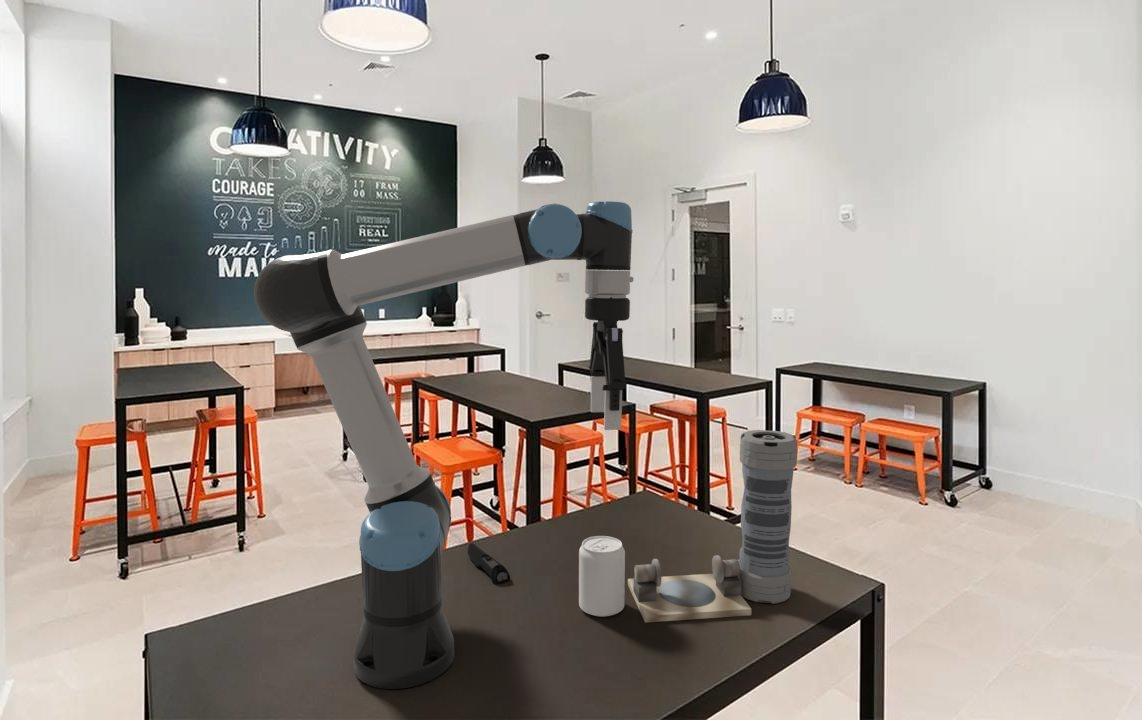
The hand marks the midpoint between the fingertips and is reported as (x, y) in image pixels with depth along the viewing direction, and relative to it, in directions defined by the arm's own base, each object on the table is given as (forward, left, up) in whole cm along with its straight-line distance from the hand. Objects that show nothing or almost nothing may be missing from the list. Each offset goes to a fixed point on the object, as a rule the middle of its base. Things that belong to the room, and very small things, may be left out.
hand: (604, 420), depth 115 cm
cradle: (+16, +1, -34) cm, 38 cm away
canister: (+31, +2, -34) cm, 46 cm away
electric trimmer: (-21, +18, -35) cm, 44 cm away
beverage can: (0, 0, -34) cm, 34 cm away
